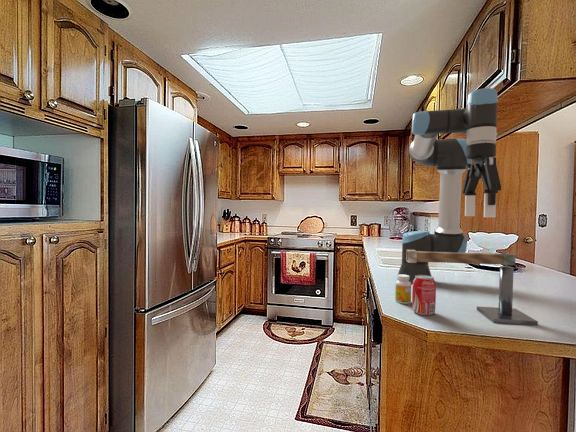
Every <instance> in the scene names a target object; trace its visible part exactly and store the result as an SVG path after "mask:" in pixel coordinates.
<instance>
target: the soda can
mask: <svg viewBox="0 0 576 432" xmlns="http://www.w3.org/2000/svg"><path fill="white" fill-rule="evenodd" d="M436 291H437V284H436V281H435V277H434V276H428V275H415V279H414V280H413V284H412V288H411V305H412V307H411V308H412V311H413V312H414V313H416V314H417V315H421V316H425V315H427V316H432V315H433V314H435V312H436V304H437V301H436V300H437V299H436V297H437V295H436V294H437V292H436Z"/></svg>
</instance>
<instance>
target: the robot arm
mask: <svg viewBox="0 0 576 432" xmlns="http://www.w3.org/2000/svg"><path fill="white" fill-rule="evenodd" d="M498 103H499V100H498V91H497V89H495V88H491V87H485V88H484V87H483V88H479V89H475V90H473V91H471V92H470V93H468V95H467V102H466V104H467V107H466V108H452V109H442V110H441V109H439V110H438V109H437V110H423V111H416V112H413V114H412V118H411V119H412V120H411V133H412V134H413V135H414V139H413V141H411V143H410V145H409V149H408V153H409V156H410V158H411V159H412V160H413V161H414V162H415V163H416V164H419V165H421V166H425V167H436V171H437V172H438V173H439V177H440V179H439V197H438V198H439V200H438V201H439V203H438V222H437V223H438V225H437V227H436V228H435V229H434V232H433V233H430V231H429V230H415V231H408V232H405V233H403V235H402V241H401V244H402V245H401V264H400V267H399V270H398V273H397V276H398V275H400V274H404V275H409V282H411V285H413V280H414V279H415V275H428V276H432V273H431V269H430V267H429V262H416V263H408V262H407V261H406V251H407V250H415V251H427V252H460V253H467V245H468V243H467V242H468V237H467V236H466V235H465V234H464V231H463V230H462V229H461V228H460V222H461V221H460V220H461V201H462V198H461V197H462V194H463V195H464V196H465V197H464V217H475V216H476V196H477V193H476V189H477V186H478V184H479V181H480V179H481V181H482V185H483V187H484V190H483V194H484V196H483V198H484V199H483V218H496V216H497V215H496V214H497V194H498V191H502V184H501V180H500V175H499V172H498V167H497V157H496V156H497V144H496V142H497V136H498V135H499V133H498V132H497V129H498V127H497V126H498V125H497V123H498ZM458 133H459V134H460V133H461V134H464V135H466V136H465V137H466V138H445V139H443V138H442V139H441V138H440V139H437V138H438V135H443V134H458ZM465 171H466V172H465ZM464 173H465V178H464V182H463V174H464ZM462 183H463V187H462ZM432 277H433V276H432Z"/></svg>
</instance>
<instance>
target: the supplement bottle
mask: <svg viewBox="0 0 576 432" xmlns="http://www.w3.org/2000/svg"><path fill="white" fill-rule="evenodd" d="M394 295H395V297H394V298H395V300H394V301H395V302H396V303H398V304H404V305H406V304H407V305H408V304H412V283H411V282H409V275H404V274H400V275H398V274H397V280H396V281H395V294H394Z"/></svg>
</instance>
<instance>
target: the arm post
mask: <svg viewBox="0 0 576 432" xmlns="http://www.w3.org/2000/svg"><path fill="white" fill-rule="evenodd" d="M514 268H515V267H513V266H510V265H500V266H499V283H498V284H499V285H498V289H499V290H498V307H494V306H493V307H492V306H476V311H477V312H479V313H480V314H481V315H482V316H484V317H485V318H487V319H488V320H489V321H491V322H492V323H494V324H495V323H496V324H510V325H523V324H525V326H538V325H539V323H538V322H539V321H538V320H537V319H535V318H533V317H531V316H529V315H528V314H525V312H522V311H520V309H517V308H515V307H513V300H514V299H513V298H514V297H513V296H514Z"/></svg>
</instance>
